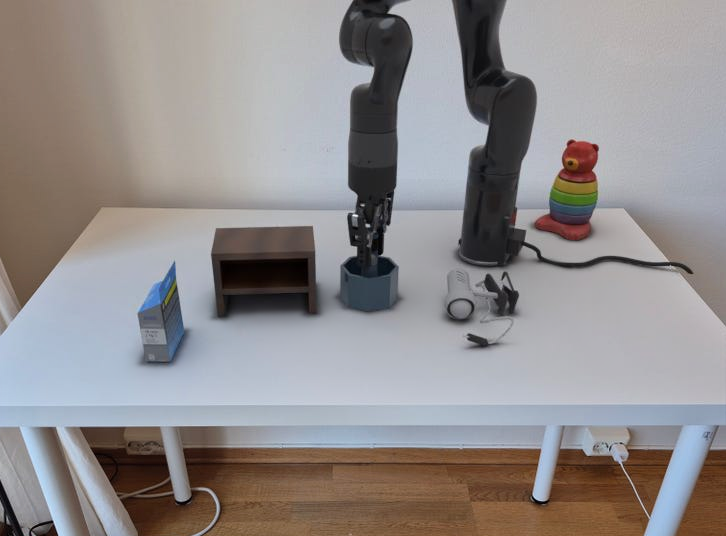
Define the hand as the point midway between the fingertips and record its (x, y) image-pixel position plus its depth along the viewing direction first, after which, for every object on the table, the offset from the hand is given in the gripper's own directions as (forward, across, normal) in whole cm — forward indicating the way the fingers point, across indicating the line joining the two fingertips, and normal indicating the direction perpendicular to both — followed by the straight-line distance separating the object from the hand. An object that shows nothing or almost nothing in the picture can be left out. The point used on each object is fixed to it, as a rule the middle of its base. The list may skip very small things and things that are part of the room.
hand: (370, 259), depth 116 cm
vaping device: (+7, 0, 0) cm, 7 cm away
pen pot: (+7, 0, 0) cm, 7 cm away
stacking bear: (+7, +46, -25) cm, 53 cm away
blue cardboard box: (+7, -27, +22) cm, 36 cm away
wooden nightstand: (+7, -8, +15) cm, 19 cm away
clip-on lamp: (+7, +1, -19) cm, 21 cm away
